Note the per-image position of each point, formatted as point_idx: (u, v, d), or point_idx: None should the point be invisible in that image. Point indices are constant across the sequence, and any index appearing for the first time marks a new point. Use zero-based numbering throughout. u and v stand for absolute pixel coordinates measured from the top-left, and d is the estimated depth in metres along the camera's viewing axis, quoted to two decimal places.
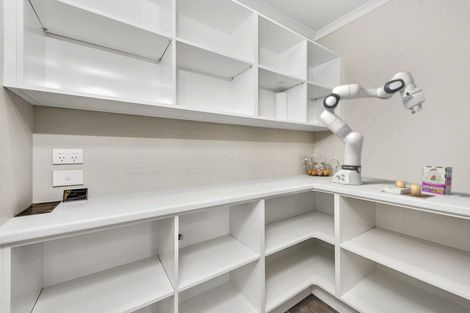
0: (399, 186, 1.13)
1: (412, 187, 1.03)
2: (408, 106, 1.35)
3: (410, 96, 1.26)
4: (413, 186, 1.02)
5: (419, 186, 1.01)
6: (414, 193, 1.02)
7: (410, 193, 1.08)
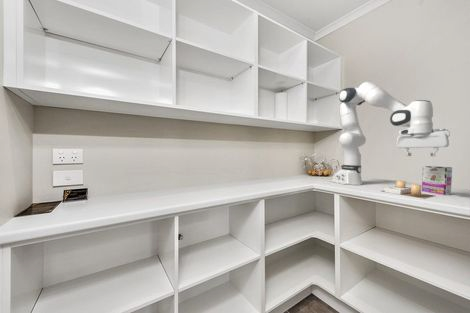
0: (399, 186, 1.13)
1: (412, 187, 1.03)
2: None
3: None
4: (413, 186, 1.02)
5: (419, 186, 1.01)
6: (414, 193, 1.02)
7: (410, 193, 1.08)
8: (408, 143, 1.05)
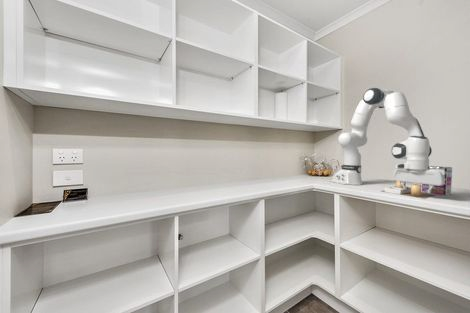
0: (399, 186, 1.13)
1: (412, 187, 1.03)
2: None
3: None
4: (413, 186, 1.02)
5: (419, 186, 1.01)
6: (414, 193, 1.02)
7: (410, 193, 1.08)
8: (404, 178, 1.06)
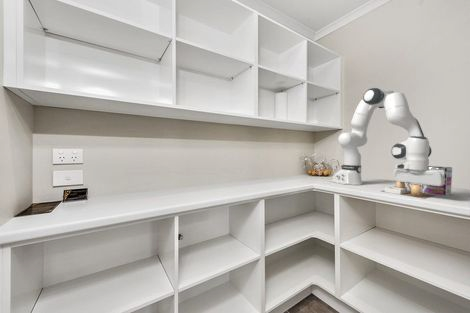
0: (399, 186, 1.13)
1: (412, 187, 1.03)
2: None
3: None
4: (413, 186, 1.02)
5: (419, 186, 1.01)
6: (415, 193, 1.02)
7: (410, 193, 1.08)
8: (404, 178, 1.06)
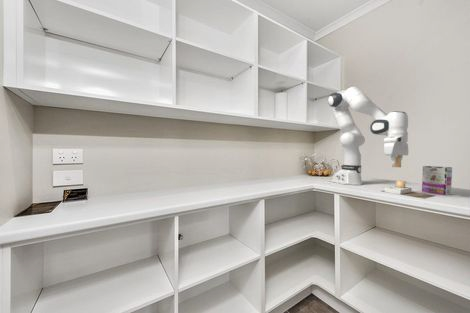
0: (399, 186, 1.13)
1: (399, 159, 1.08)
2: None
3: None
4: (400, 158, 1.08)
5: None
6: None
7: (410, 193, 1.08)
8: (396, 151, 1.06)
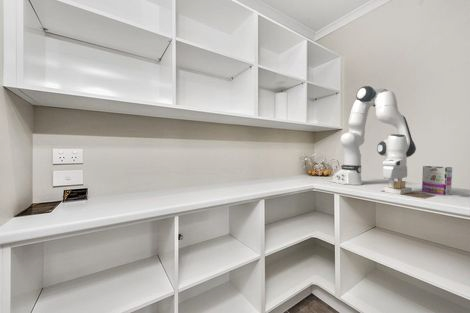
0: None
1: (398, 185, 1.09)
2: None
3: None
4: (399, 183, 1.09)
5: None
6: None
7: (410, 193, 1.08)
8: (395, 175, 1.07)
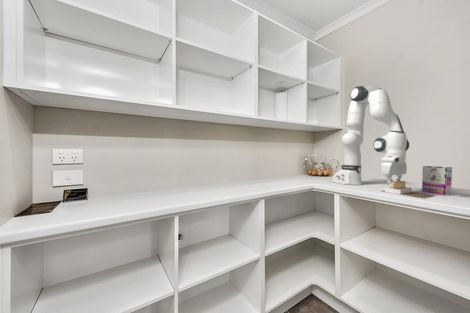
0: None
1: (398, 185, 1.09)
2: None
3: None
4: (399, 183, 1.09)
5: None
6: None
7: (410, 193, 1.08)
8: (394, 171, 1.07)
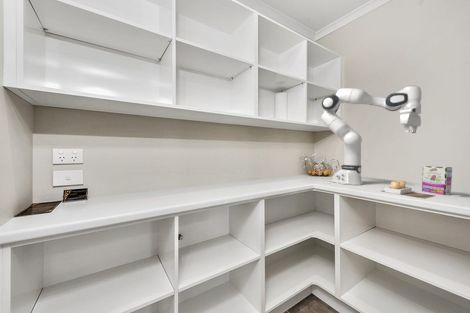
0: None
1: (398, 185, 1.09)
2: None
3: None
4: (399, 184, 1.09)
5: None
6: None
7: (410, 193, 1.08)
8: (411, 121, 1.20)
